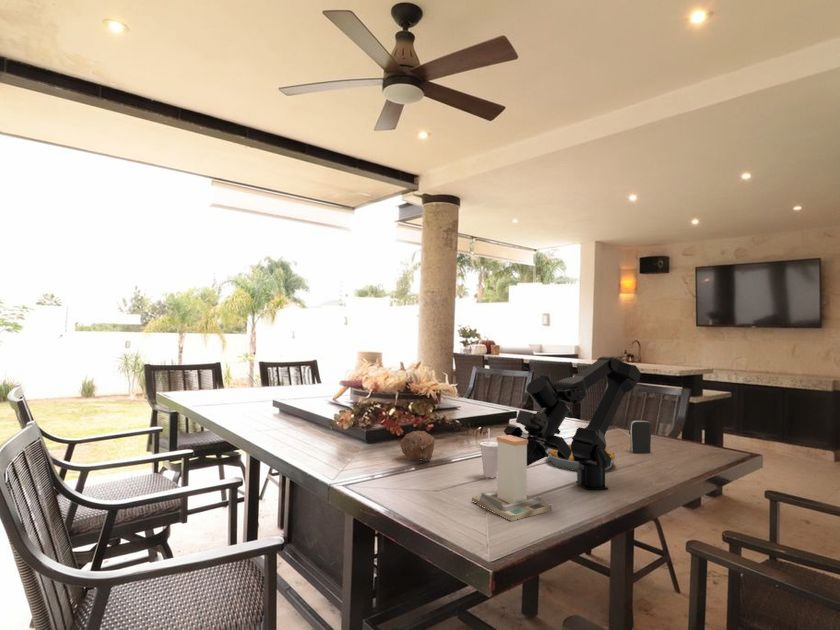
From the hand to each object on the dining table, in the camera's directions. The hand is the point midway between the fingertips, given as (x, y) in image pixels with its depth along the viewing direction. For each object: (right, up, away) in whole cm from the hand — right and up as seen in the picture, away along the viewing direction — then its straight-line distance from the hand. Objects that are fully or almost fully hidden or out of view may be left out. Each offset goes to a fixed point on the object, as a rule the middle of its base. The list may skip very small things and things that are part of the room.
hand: (518, 468), depth 117 cm
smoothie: (-4, -10, +22) cm, 25 cm away
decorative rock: (-25, -11, +41) cm, 49 cm away
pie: (+28, -11, +38) cm, 49 cm away
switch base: (-2, -9, -2) cm, 9 cm away
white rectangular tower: (-2, -7, -2) cm, 8 cm away
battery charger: (+56, -12, +55) cm, 79 cm away
